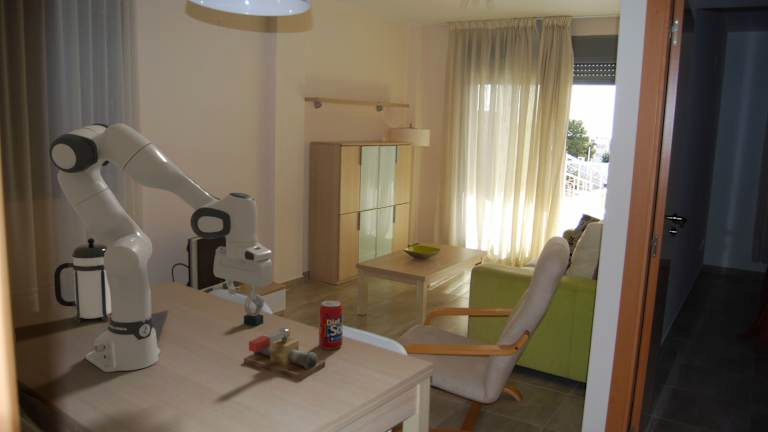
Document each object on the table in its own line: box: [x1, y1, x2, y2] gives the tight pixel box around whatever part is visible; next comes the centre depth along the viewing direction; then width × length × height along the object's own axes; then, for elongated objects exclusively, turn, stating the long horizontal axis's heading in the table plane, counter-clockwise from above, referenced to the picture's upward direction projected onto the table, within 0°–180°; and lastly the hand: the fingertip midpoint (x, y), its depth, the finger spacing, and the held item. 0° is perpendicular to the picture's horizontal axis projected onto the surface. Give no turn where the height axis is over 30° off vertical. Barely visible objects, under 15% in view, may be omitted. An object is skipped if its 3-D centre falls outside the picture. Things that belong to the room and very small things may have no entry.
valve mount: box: [243, 337, 326, 381], centre depth 175 cm, size 22×12×9 cm, turn 60°
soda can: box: [318, 300, 344, 350], centre depth 190 cm, size 8×8×15 cm
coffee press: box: [53, 237, 111, 324], centre depth 209 cm, size 17×16×30 cm
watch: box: [243, 293, 265, 327], centre depth 210 cm, size 6×8×11 cm
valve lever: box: [248, 327, 291, 353], centre depth 169 cm, size 16×3×3 cm, turn 150°
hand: (242, 296), depth 166 cm, fingers open, 6 cm apart
